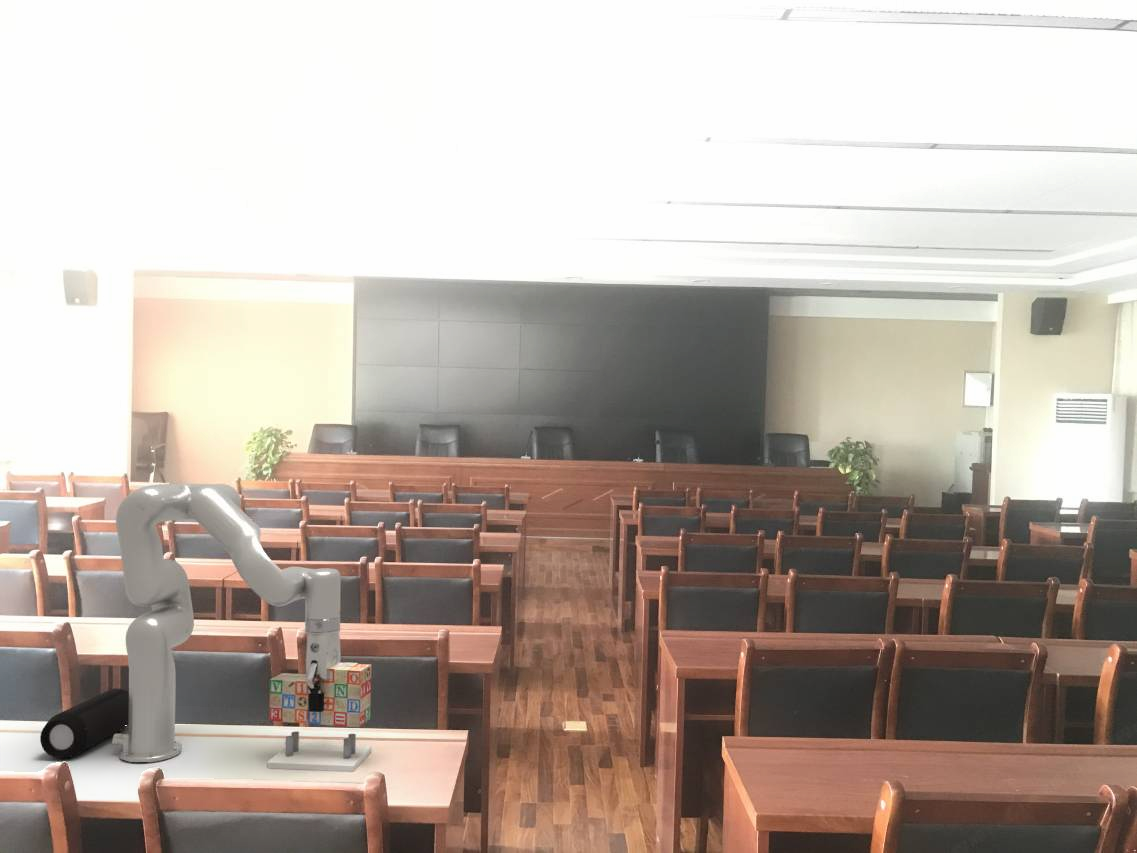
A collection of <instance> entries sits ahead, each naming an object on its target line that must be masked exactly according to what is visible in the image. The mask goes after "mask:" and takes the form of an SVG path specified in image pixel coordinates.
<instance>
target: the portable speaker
mask: <svg viewBox="0 0 1137 853" xmlns="http://www.w3.org/2000/svg"><path fill="white" fill-rule="evenodd" d="M128 714H129V689H123V688H112V689H109V690H106V691H103V692H102V693H100V694H98V695H96V696H94V697H92V698H89V699H87V700H85V701H83V702H80V703H79V704H77V705H74V706H72V707H70V708H68V709H66V710H63V711H61V712H59V713H57V714H56V715H54V716H52V717H50V719H49V720H48V721H47V722H46V724H45V725H44V726H43V728H42V730H41V732H40V736H39V737H40V739H39V741H40V745H41V748H42V750H43V751H44V753H46V754H47V755H48V756H50V757H52V758H57V759H59V758H60V759H67V758H66V757H70V756H73V757H75V756H76V755H78V753H79V754H80V753H82V752H84V751H86V750H88V749H89V748H91V747H92V746H94V745H96V744H97V742H98V743H99V741H100V742H102V741H103V740H105V739H107V738H108V736H109V737H110V736H113V735H114V734H116V733H118V732H119V730H120V729H122V728H123V729H125V728H128V726H125V725H128ZM124 727H125V728H124ZM123 729H122V730H123ZM117 731H118V732H117ZM120 731H121V730H120ZM115 732H116V733H115ZM112 734H113V735H112ZM106 737H107V738H106ZM87 748H88V749H87ZM85 749H86V750H85ZM74 755H75V756H74ZM70 758H71V757H70Z"/></svg>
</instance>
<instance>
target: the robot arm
mask: <svg viewBox="0 0 1137 853" xmlns="http://www.w3.org/2000/svg"><path fill="white" fill-rule="evenodd" d="M241 506H242V497H241V495H240V494H239V492H238V490H236V489H235V488H234V487H232V486H231V485H229V484H225V483H212V484H211V483H184V482H183V483H180V482H179V483H177V482H176V483H164V484H163V483H162V484H151V485H150V484H149V485H145V486H142V487H139V488H138V489H135V490H134V491H132V492H130V493H129V494H128V495H127V496H126V497H125V498H123V500H122V502H121V503H120V504H119V506H118V509H117V511H116V517H115V527H116V533H117V537H118V542H119V548H120V558H121V564H122V565H121V566H122V572H123V573H122V574H123V580H124V588H125V594H126V596H127V599H128V600H129V602H130V603H131V604H133V605H135V606H137V607H150V606H151V610H150V611H148V612H145V613H143V614H140V616H137V617H136V618H135V619H134V620H133V621H132V622H131V623H130V624H129V626H128V628H127V630H126V634H125V647H126V654H127V660H128V691H129V714H128V726H127V728H128V729H127V733H125V734H124V733H118V732H116V733H114V734H113V735H112V736H113V737H112V741H111V744H112V745H113V746H122V749H121V750H120V752H119V758H120V757H121V759H120V760H122V759H123V760H126V761H130V762H129V763H131V762H148V763H153V762H154V763H155V762H161V761H165V760H169V759H171V758H174V757H176V756H177V755H180V754H181V752H182V750H183V748H182V746H183V745H182V743H180V742H179V741H175V736H176V735H175V731H176V728H175V727H176V724H175V723H176V688H177V686H176V684H177V682H176V677H177V676H176V675H177V673H176V664H175V659H174V656H173V651H172V649H173V648H175V647H178V646H181V645H182V644H183V643H185V642H186V641H187V640H189V638H190V637H191V635H192V633H193V631H194V625H195V619H194V618H195V617H194V610H193V603H192V602H193V601H192V596H191V595H192V594H191V589H190V582H189V578H188V575H187V573H186V570H185V568H183V566H182V565H181V564H180V563H179V562H177V561H175V560H173V559H170V558H169V559H167V558H164V551H163V545H162V540H161V538H160V534H159V533H158V530H157V529H156V525H157V524H159V523H164V522H171V521H177V520H178V521H179V520H191V521H193V520H194V521H195V522H197V524H199V525H200V526H201V528H203V529H204V531H205V532H207V533H208V534H209V535H210V536H211V537H212V538H213V539H214V540H215V541H216V542H217V543H218V544H219V545H220V546H221V547H222V548H223V549H224V551H225V552H226V553H227V554H228V555H229V556H230V558H231V561H232V564H233V565H234V567H235V569H236V571H237V573H238V574H239V576H240V578H241V579H242V580H243V581H244V583H245V584H246V585H247V586H248V587H249V588H250V589H251V590H252V591H253V592H254V593H255V594H256V595H257V596H258V597H259V598H260V599H262V600H263V601H264V602H265V603H266V604H268V605H271V606H274V607H283V606H287V605H289V604H291V603H293V602H297V601H299V600H303V599H305V602H304V603H305V604H304V607H305V608H304V612H305V613H304V614H305V615H304V616H305V617H304V624H305V625H304V634H306V635H307V640H306V652H305V653H306V654H305V655H306V656H305V674H306V677H307V684H308V688H309V689H308V693H309V711H310V712H322V711H324V693H322V690H323V683H324V680H329V679H330V668H331V667H333V666H335V665H336V664H338V663H342V660H341V659H342V658H341V657H342V656H341V655H342V654H341V652H342V651H341V640H340V639H341V638H340V632H341V574H340V571H339V570H338V569H335V568H328V567H327V568H309V567H301V566H288V567H286V568H282V569H281V568H280V567H279V565H277V564H276V563H275V562H274V561H273V560H272V559H271V557H269V556H268V555H267V553H266V552H265V550H264V548H263V546H262V543H261V528H260V526H259V525H258V524H257V523H256V522H255V521H254V520H253V519H252V518H251V517H249V516H248V515H247V513H245V512H244V510H242V508H241ZM316 675H320V677H321V678H315V676H316ZM315 682H319V686H318V684H317V683H315ZM123 760H122V761H123ZM126 761H125V762H126Z"/></svg>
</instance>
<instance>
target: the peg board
mask: <svg viewBox="0 0 1137 853" xmlns="http://www.w3.org/2000/svg"><path fill="white" fill-rule="evenodd" d="M347 736H348V737H347V738H344V739H343V744H327V743H326V744H325V743H324V744H323V743H319V744H318V743H300V742H299V741H300V732H299V731H292V732H291V735H288V736H287V735H286V737H285V747H284V748H282V749H281V750H280V751H279V752H278V753H277V754H275V755H274V756H273V757H271V758H270V759H269V760H268V761H267V762H266V769H277V770H282V769H283V770H303V771H306V770H307V771H324V772H325V771H330V772H348V773H349V772H350V773H351V772H355V770H356V769H358V767H359V766H360V765H361V764H362V763H363V762H364V761H365V759H367V757H368V756H369V755H370V754H371V753H370V751H371V750H372V745H356V742H357V741H356V740H357V739H356V737H357V736H356V733H349V734H348V735H347ZM369 753H370V754H369ZM368 754H369V755H368ZM367 755H368V756H367ZM366 756H367V757H366Z"/></svg>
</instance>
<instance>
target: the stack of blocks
mask: <svg viewBox="0 0 1137 853" xmlns="http://www.w3.org/2000/svg"><path fill="white" fill-rule="evenodd" d="M315 678H321V677H320V675H316V676H315ZM315 683H317V684H318V686H319V682H315ZM308 689H309V688H308V684H307V677H306V673H304V674H303V673H288V672H286V673H285V672H284V673H283V672H282V673H280V674H278V675H276V676H274V677H272V678H270V679H269V692H268V693H269V704H268V705H269V721H270V722H283V723H295V724H305V725H306V724H310V725H325V726H335V727H337V726H338V727H349V728H350V727H351V728H360V727H362V726H364V724H366V723H367V722H369V721H370V720H371V716H372V715H371V713H372V712H371V708H372V707H371V704H372V703H371V702H372V699H371V698H372V664H369V663H368V664H366V663H358V662H341V663H338V664H336V665H335V666H333V667H331V668H330V679H329V680H324V683H323V690H322V693H324V711H322V712H310V711H309V693H308Z"/></svg>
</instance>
